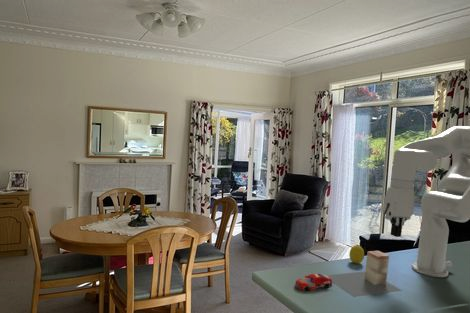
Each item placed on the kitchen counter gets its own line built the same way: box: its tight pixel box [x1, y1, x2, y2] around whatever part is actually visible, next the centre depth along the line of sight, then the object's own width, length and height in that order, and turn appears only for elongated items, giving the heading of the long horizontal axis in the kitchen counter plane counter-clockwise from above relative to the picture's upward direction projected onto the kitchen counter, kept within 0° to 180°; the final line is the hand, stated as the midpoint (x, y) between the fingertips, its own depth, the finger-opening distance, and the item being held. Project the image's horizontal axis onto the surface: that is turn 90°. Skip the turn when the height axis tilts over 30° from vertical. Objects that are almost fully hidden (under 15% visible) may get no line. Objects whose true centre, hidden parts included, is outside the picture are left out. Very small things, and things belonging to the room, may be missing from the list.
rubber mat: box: [326, 271, 402, 298], centre depth 125 cm, size 20×16×1 cm
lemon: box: [348, 244, 365, 265], centre depth 143 cm, size 6×6×8 cm
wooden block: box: [364, 250, 390, 285], centre depth 126 cm, size 5×5×10 cm
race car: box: [295, 273, 333, 292], centre depth 120 cm, size 13×5×4 cm, turn 112°
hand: (395, 235), depth 128 cm, fingers closed
